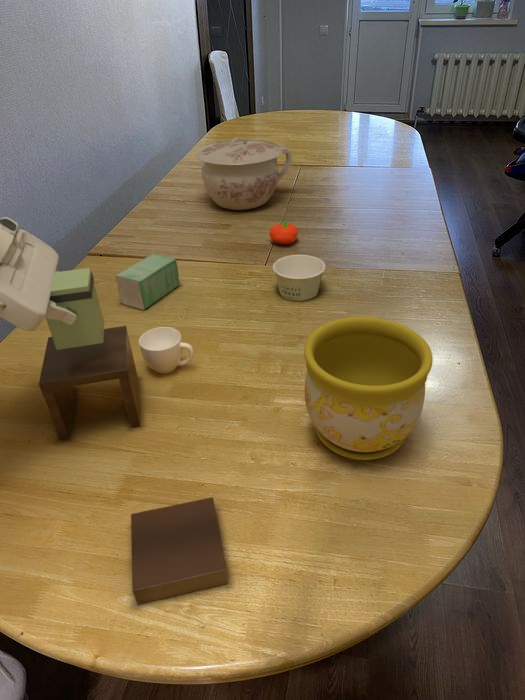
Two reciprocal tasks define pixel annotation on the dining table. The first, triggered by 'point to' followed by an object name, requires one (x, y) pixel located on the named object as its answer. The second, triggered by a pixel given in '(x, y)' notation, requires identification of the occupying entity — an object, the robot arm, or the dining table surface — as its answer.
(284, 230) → the pumpkin
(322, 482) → the dining table surface
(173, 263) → the box
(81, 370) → the wooden stool
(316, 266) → the food container
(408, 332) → the flowerpot
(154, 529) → the brown square tile
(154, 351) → the cup
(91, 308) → the block
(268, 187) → the chamber pot
